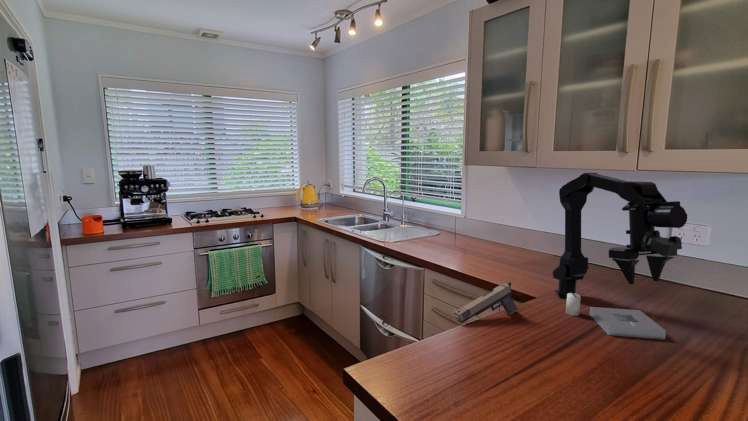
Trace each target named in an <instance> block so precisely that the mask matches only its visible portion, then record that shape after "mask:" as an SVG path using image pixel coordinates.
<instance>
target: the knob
mask: <svg viewBox="0 0 748 421" xmlns="http://www.w3.org/2000/svg"><path fill="white" fill-rule="evenodd" d="M581 296H582V295H580V294H578V293H576V294H575V293H568V294H567V298H566V304H565V314H567V315H569V316H573V317H576V316H580V311H581V310H580V309H581V308H580V306H581V299H582V298H581Z"/></svg>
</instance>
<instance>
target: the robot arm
mask: <svg viewBox="0 0 748 421" xmlns="http://www.w3.org/2000/svg"><path fill="white" fill-rule="evenodd" d="M595 188H596V189H601V190H604V191H607V192H610V193H613V194H616V195H617V196H619V198H621V199H623V200H625V201H626V202H627V203H626V205H624V206H623V207H622V208H621V211H627V212H628V219H629V220H628V221H629V224H628V225H629V226H628V227H629V229H626V230H625V234H626V235H629V244H626V246H625V247H623V246H617V247H611V248H609V249H608V258H609V259H611V260H612V261H613V262H615V263H616V265H617V266H618V268H619V269H620V271H621V273H622V274H623V275H624V277H625V280H626V281H627V283H628V284H629V285H634V284H635V274H636V272H635V270H636V265H637V264H638V263H639V262H640V259H639V260H638V258H639V257H640V256H646V260H647V265H648V268H649V271H650V275H651V278H652V280H653V282H659V281H660V278H661V274H662V272H663V269H664V267H665V265H666V264H667V262H669V261H670V260H673V259H674V258H675V257H676V256H678V251H679V250H682V249H683V247H682V238H681V237H679V236H677V235H673V236H672V235H671V236H669V237H663V236H661V233H660V230H658V229H657V230H656V228H668V229H670V228H671V229H673V228H674V229H681V228H683V227H684V226H685V225H686V224H687V222H688V214H687V212H686V210H685V208H684V207H683V206H681V201H680V200H679V201H678V200H677V201H676V200H674V201H667V199H666V198H665V197H664V196H663V194H662V193H661V192H660V190H659V189H658V187H657V184H656V183H655V182H653V181H634V180H633V181H632V180H631V181H630V180H624V179H619V178H616V177H612V176H609V175H608V176H607V175H603V174H599V173H597V172H584V173H582V174H580V175H579V176H578V177H576V178H574V179H571V180H570V181H568V182H566V184H563V185H562V186H561V187H560V188H559V190H558V196H559V202H560V204H561V206H562V208H563V209H564V252H563V254H562V255H561V257H560V259H559V266H557V267H556V268H555V269H554V270H553V271H552V277H553V278H554V279H555V280H558V287H557V290H554V293H555V294H556V295H557V296H558V298H561V299H567V294H568V293H575V294H577V284H578V281H583V280H584V278H585V276H586V274H588V270H589V268H590V267H589V258H588V256H587V257H586V256H584V253H583V252H582V211H583V209H584V206H586V203H587V200H588V195H590V194H591V193H592V192H593V191H594V189H595Z"/></svg>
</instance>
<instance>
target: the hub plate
mask: <svg viewBox="0 0 748 421" xmlns="http://www.w3.org/2000/svg"><path fill="white" fill-rule="evenodd" d="M589 316H590V317H591V318H592V319H593V320H594V321H595V322H596V323H597V324H598V326H600V327H601V328H602V329H603V331H604V332H605V333H606V334H607V335H608V336H615V337H616V336H617V337H626V338H627V337H629V338H641V339H653V340H666V334H667V330H666V329H664V328H663V327H662V326H660V325H659V324H658V323H657V322H655V321H654V320H653V319H652V318H650V317H649V316H648V315H647V314H646V313H644V312H643V311H642V310H639V309H625V308H616V307H615V308H613V307H599V306H597V307H596V306H590V307H589Z"/></svg>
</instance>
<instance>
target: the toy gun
mask: <svg viewBox="0 0 748 421" xmlns="http://www.w3.org/2000/svg"><path fill="white" fill-rule="evenodd" d="M511 286H512V282H511V281H510V282H508V283H505V282H503V283H500V284H499V285H498V286H496V287H495V288H493V289H492V290H491V291H490V292H488V293H486V294H484V295H480V296H479V297H477V298H475V299H474V300H472V301H470V302H469V303H467V304H465V305H463V306H462V307H460V308H458V309H457V310H455V311H454V317H455V320H457V321H458V322H459V323H460V324H462V323H463V324H464V322H467V321H468V320H469V319H472V318H473V317H474V316H479V315H480V314H481V313H483V312H486V311H487V310H489V309H490V308H491V310H492V311H493V312H494V311H495V310H496V309H498V308H500V307H501V306H502V307H503V309H504V310H505V313H506V314H508V315H513V314H514V313H515V312H517V311H519V308H518V307H517V305H516V303H515V301H514V300H513V298H512V295H513V291H512V289H511V288H512V287H511ZM497 304H498V305H497ZM495 305H496V306H495Z"/></svg>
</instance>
